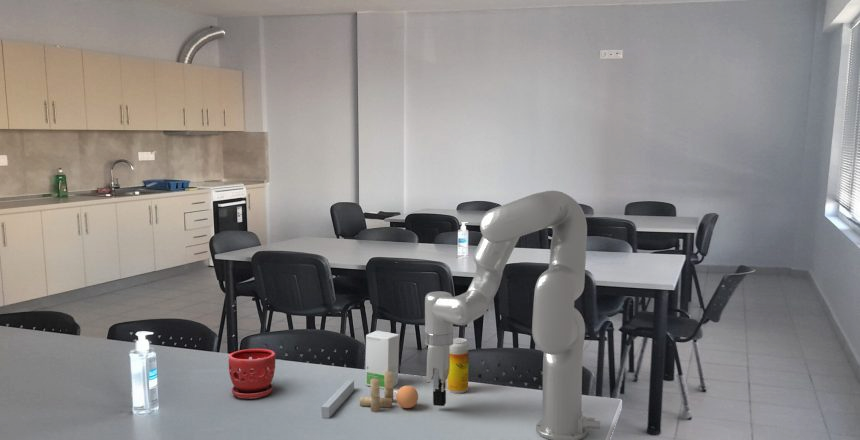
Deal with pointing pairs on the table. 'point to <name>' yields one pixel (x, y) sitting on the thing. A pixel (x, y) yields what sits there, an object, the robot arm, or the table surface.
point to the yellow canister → (458, 366)
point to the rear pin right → (388, 384)
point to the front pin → (383, 402)
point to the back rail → (337, 399)
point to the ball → (407, 396)
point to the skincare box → (381, 356)
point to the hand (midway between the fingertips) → (439, 404)
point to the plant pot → (252, 372)
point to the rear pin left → (375, 395)
